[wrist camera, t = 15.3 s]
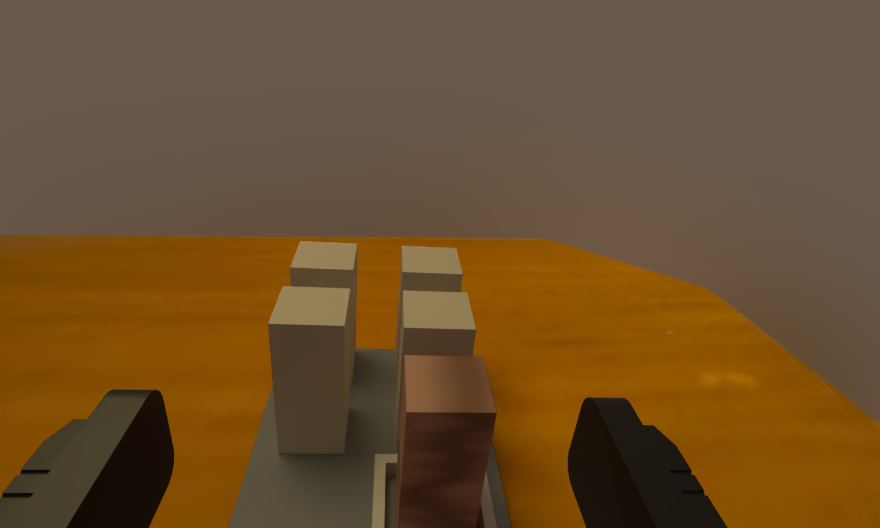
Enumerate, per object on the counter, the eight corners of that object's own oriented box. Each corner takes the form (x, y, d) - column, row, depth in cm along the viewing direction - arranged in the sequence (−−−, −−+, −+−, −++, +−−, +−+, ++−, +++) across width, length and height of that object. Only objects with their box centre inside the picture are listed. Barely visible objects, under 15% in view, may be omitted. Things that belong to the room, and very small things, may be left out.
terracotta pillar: (395, 551, 33) (406, 412, 28) (395, 486, 38) (404, 355, 32) (471, 549, 34) (496, 412, 28) (462, 485, 38) (482, 356, 33)
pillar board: (209, 610, 31) (176, 446, 24) (285, 358, 52) (278, 237, 46) (520, 600, 33) (561, 447, 26) (470, 362, 54) (487, 247, 48)
